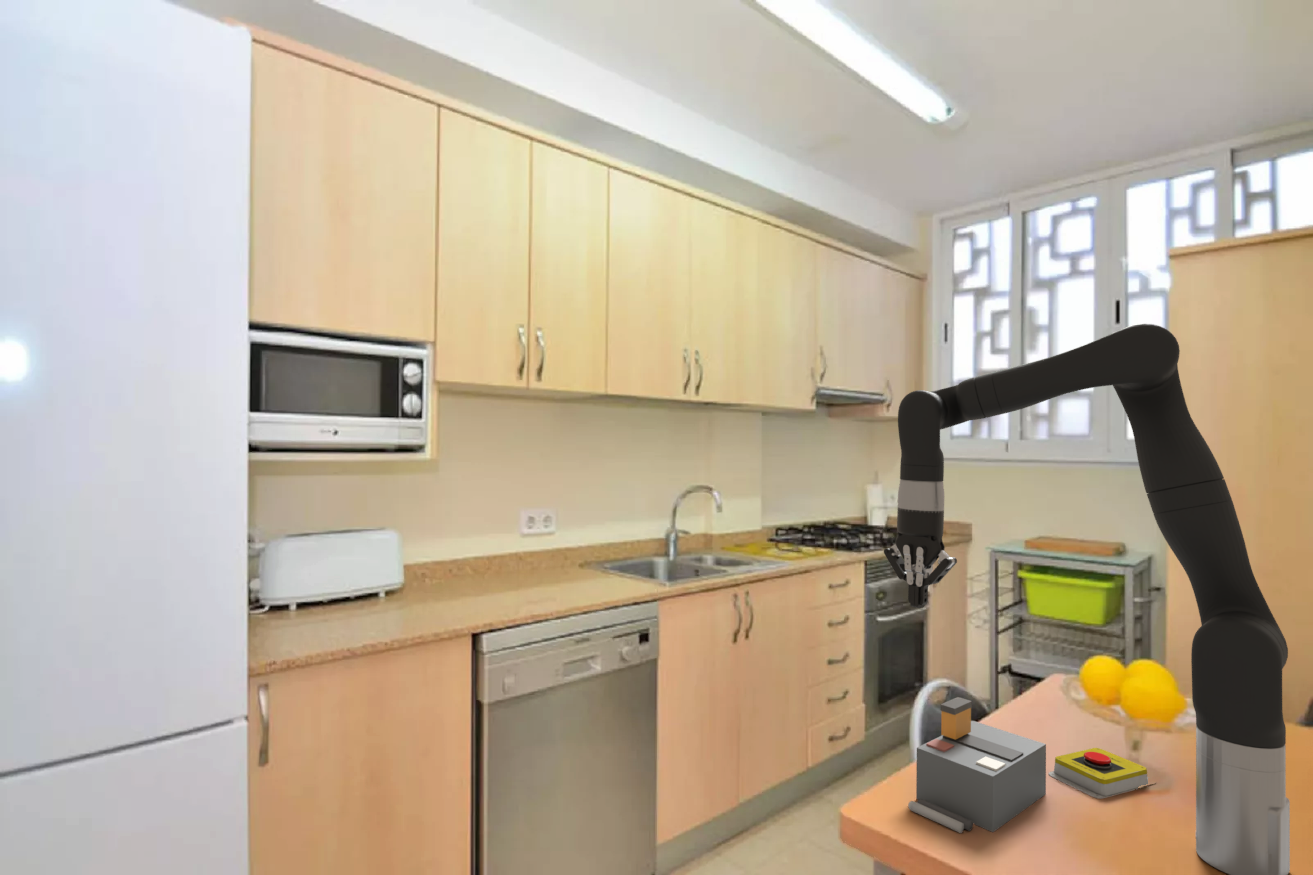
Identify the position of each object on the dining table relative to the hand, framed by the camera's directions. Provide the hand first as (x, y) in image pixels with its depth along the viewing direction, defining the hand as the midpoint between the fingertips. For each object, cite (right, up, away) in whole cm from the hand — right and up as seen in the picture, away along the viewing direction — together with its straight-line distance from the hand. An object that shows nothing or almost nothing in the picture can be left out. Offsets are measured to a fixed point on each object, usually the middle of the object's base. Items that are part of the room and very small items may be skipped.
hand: (917, 606), depth 119 cm
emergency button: (+30, -29, -3) cm, 42 cm away
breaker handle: (+4, -19, -6) cm, 21 cm away
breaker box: (+7, -28, -9) cm, 30 cm away
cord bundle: (-3, -28, -17) cm, 33 cm away
